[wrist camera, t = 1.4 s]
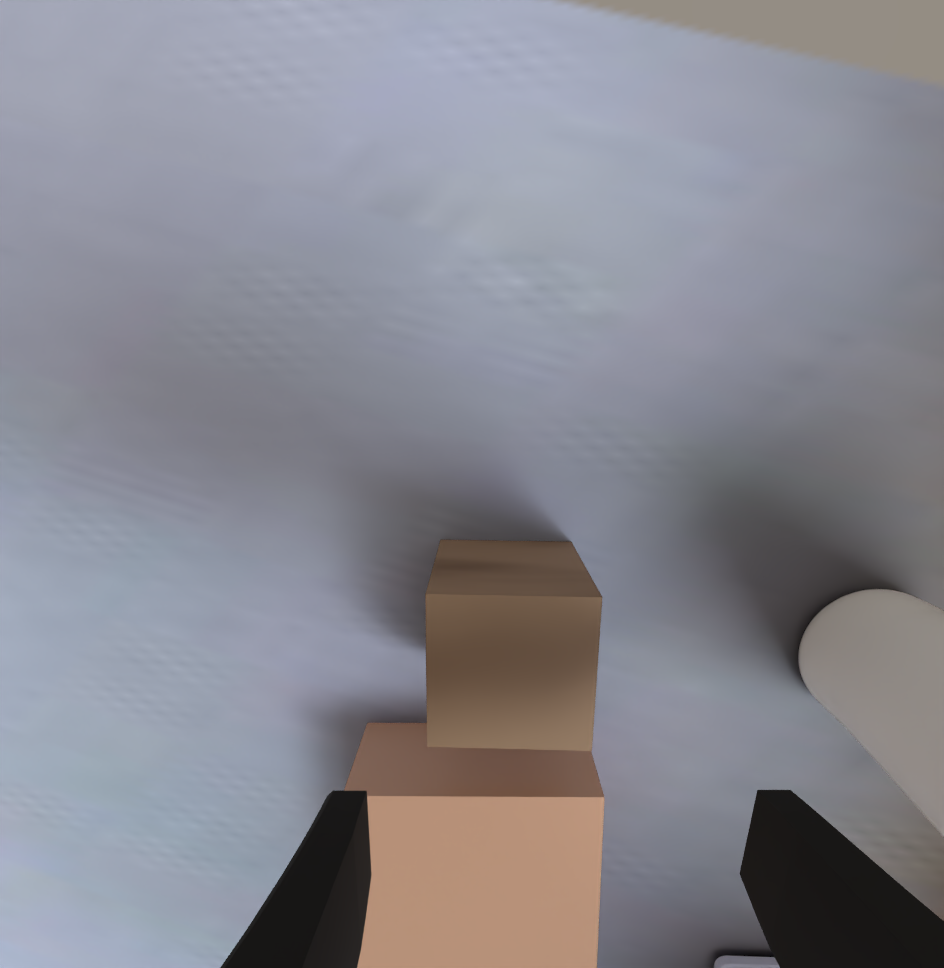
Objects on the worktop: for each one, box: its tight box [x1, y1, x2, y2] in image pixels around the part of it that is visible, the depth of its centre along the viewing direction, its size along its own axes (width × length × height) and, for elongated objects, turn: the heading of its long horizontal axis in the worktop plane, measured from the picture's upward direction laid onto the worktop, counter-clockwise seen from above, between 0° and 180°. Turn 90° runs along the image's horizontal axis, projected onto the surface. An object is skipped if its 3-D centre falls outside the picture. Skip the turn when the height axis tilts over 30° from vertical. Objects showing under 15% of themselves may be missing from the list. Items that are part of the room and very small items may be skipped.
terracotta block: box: [344, 723, 604, 968], centre depth 19 cm, size 9×9×4 cm
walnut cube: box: [425, 540, 602, 751], centre depth 17 cm, size 5×5×5 cm
